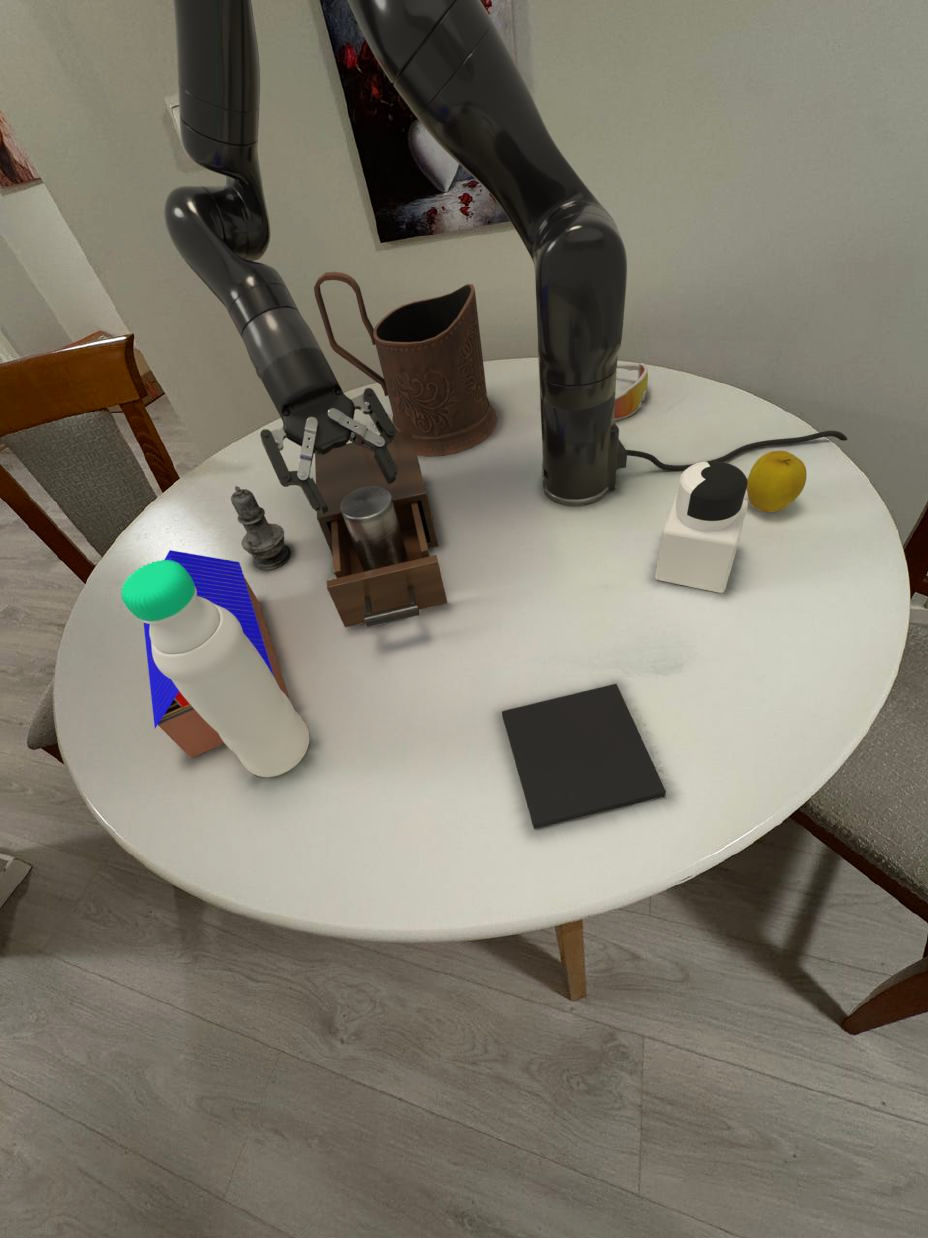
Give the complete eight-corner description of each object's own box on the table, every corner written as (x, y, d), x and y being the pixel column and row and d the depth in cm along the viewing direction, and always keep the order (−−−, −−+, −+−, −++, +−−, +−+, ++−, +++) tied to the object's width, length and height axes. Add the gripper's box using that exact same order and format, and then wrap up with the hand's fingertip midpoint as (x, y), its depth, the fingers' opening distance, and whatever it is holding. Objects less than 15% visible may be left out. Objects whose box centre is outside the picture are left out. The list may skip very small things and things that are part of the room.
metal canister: (408, 551, 75) (388, 480, 67) (414, 582, 71) (394, 511, 63) (363, 562, 75) (338, 492, 67) (367, 593, 71) (341, 523, 63)
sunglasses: (629, 429, 90) (627, 398, 86) (543, 425, 98) (538, 397, 94) (661, 385, 97) (660, 355, 94) (578, 385, 105) (574, 357, 102)
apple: (777, 529, 71) (796, 474, 66) (730, 508, 75) (744, 455, 69) (805, 503, 74) (826, 448, 68) (758, 485, 77) (773, 431, 71)
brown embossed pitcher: (499, 449, 91) (480, 274, 73) (351, 465, 94) (296, 302, 76) (496, 391, 104) (480, 229, 85) (365, 407, 106) (322, 254, 88)
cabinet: (438, 546, 78) (426, 492, 72) (338, 569, 78) (316, 518, 71) (422, 480, 89) (410, 428, 82) (333, 501, 88) (314, 450, 82)
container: (734, 550, 70) (760, 457, 60) (723, 595, 66) (750, 502, 56) (668, 538, 73) (683, 448, 63) (654, 580, 69) (667, 490, 59)
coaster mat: (615, 688, 60) (616, 683, 59) (665, 796, 52) (666, 792, 51) (502, 716, 59) (501, 711, 59) (533, 829, 51) (533, 824, 51)
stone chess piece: (283, 572, 79) (246, 501, 70) (245, 570, 80) (204, 500, 71) (299, 543, 83) (266, 472, 74) (262, 542, 84) (226, 472, 75)
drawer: (454, 629, 67) (444, 587, 62) (346, 654, 66) (327, 614, 61) (429, 528, 79) (419, 486, 74) (339, 549, 79) (323, 509, 74)
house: (188, 762, 61) (124, 700, 52) (169, 636, 74) (116, 570, 65) (297, 712, 63) (253, 645, 54) (260, 599, 76) (221, 530, 67)
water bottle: (250, 724, 63) (116, 553, 44) (314, 714, 63) (206, 537, 44) (240, 785, 58) (85, 622, 40) (308, 774, 58) (185, 604, 39)
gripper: (226, 372, 60) (302, 515, 61) (351, 325, 63) (420, 461, 64) (234, 401, 67) (302, 528, 68) (346, 358, 70) (408, 480, 72)
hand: (359, 496), depth 66 cm, fingers open, 8 cm apart
